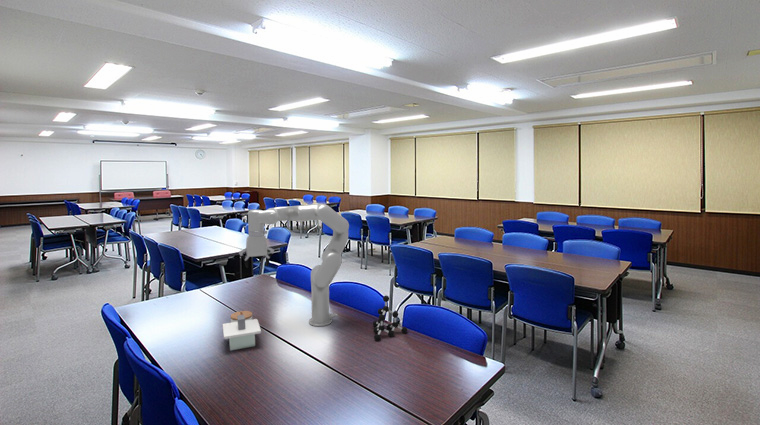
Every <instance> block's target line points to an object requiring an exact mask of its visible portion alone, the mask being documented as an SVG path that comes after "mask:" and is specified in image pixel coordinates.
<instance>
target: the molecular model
mask: <svg viewBox="0 0 760 425" xmlns="http://www.w3.org/2000/svg"><path fill="white" fill-rule="evenodd" d="M382 300H383V302H384V306H383V307H382V308H378V309H377V314H378V319H377V320H373V322H372V326H373V327H374V328H373V329H372V330H373V331H372V332H373V333H374V336H373V339H374V340H375V341H377V342H378V340H379V341H380V340H381V333H382V332H385V333H387V335H388V337H390V338H392V336H393V337H394V335H395V329H397V328H398V329H400V330H401V333H402V334H407V332H408V328H407V327H406V326H402V327H401V326H399V323H398V322H397V318H398V316H399V312H398V311H397V310H396V311H395V310H394V311H392V310H390V307H389V306H388V302H389V300H390V296H389V295H387V294H386V295H384V296H383V297H382ZM386 313H390V314H391V315H392V317H393V322H392V323H386V322H384V321H385V319H386V316H385V314H386ZM385 326H386V327H385ZM376 333H377V334H376Z"/></svg>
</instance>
